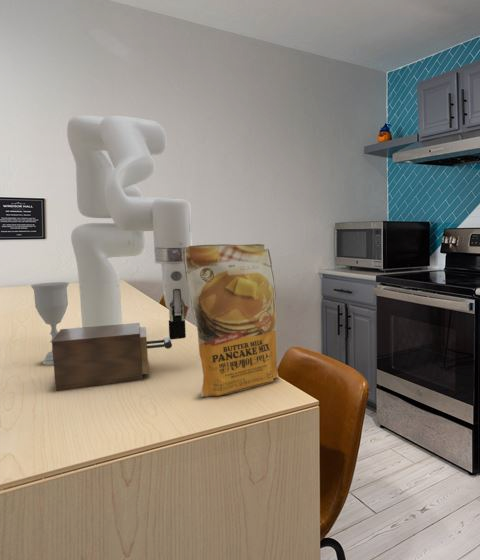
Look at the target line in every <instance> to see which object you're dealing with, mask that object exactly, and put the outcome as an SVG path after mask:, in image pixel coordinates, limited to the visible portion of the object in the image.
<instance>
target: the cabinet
mask: <svg viewBox="0 0 480 560" xmlns="http://www.w3.org/2000/svg"><path fill="white" fill-rule="evenodd" d="M140 327H141V326H140V322H131V323H122V324H119V325H106V326H94V327H72V328H61V329H60V330H59V331H57V332H58V334H57V335H56V337H55V338H54V340H53V341H52V343H51V351H52V350H53V362H54V365H53V373H54V384H55V391H64V390H72V389H80V388H89V387H95V386H102V385H103V386H104V385H111V384H117V383H118V384H119V383H127V382H132V381H133V382H134V381H142V380H143V374H142V363H141V347H140Z"/></svg>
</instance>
